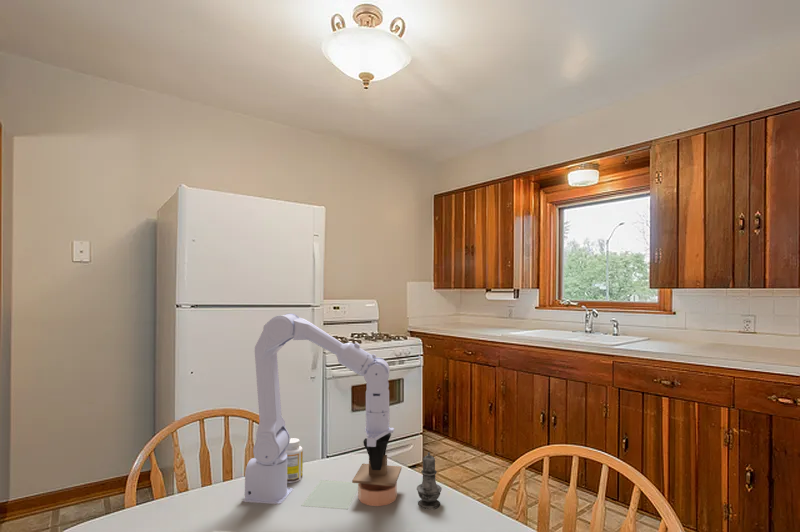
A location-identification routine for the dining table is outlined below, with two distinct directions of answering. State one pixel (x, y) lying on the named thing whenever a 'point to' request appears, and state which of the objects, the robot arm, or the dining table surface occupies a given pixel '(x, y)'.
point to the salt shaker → (429, 485)
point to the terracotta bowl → (376, 494)
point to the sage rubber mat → (332, 494)
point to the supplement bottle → (294, 461)
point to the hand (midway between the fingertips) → (377, 467)
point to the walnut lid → (378, 474)
